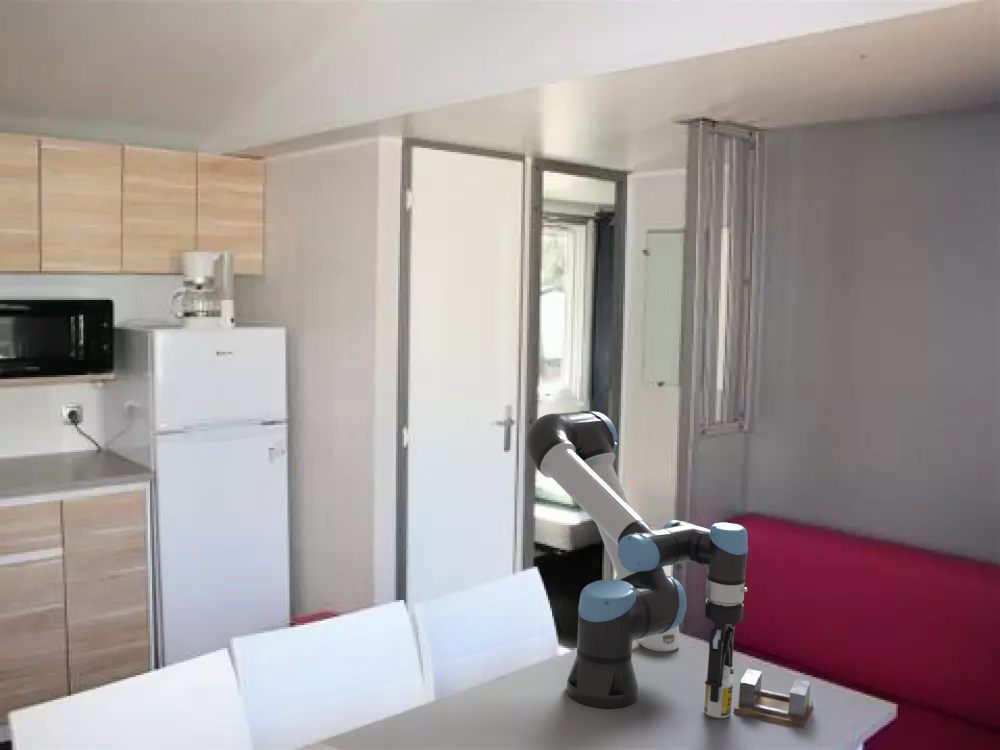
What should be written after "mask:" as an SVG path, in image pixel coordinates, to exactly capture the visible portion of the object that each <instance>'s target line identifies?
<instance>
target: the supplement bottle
mask: <svg viewBox="0 0 1000 750" xmlns="http://www.w3.org/2000/svg"><path fill="white" fill-rule="evenodd" d="M730 669H731V667H730V668H729V667H728V666H726V665H724V670H723V679H722V685H723V696H722V711H721V717H715V716H711V715H708V716H709V717H711V718H715V719H726V718H729V717H730V715H731V714H732V713H731V711H732V699H733V688H734V687H733V685H734V683H733V679H732V678H731V674H730ZM729 676H730V677H729ZM705 681H707V677H706V679H705ZM704 692H705V693H704V703H703V706H704V707H703V711H704V714H706V715H707V708H708V692H709V685H707V684H705V691H704Z"/></svg>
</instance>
